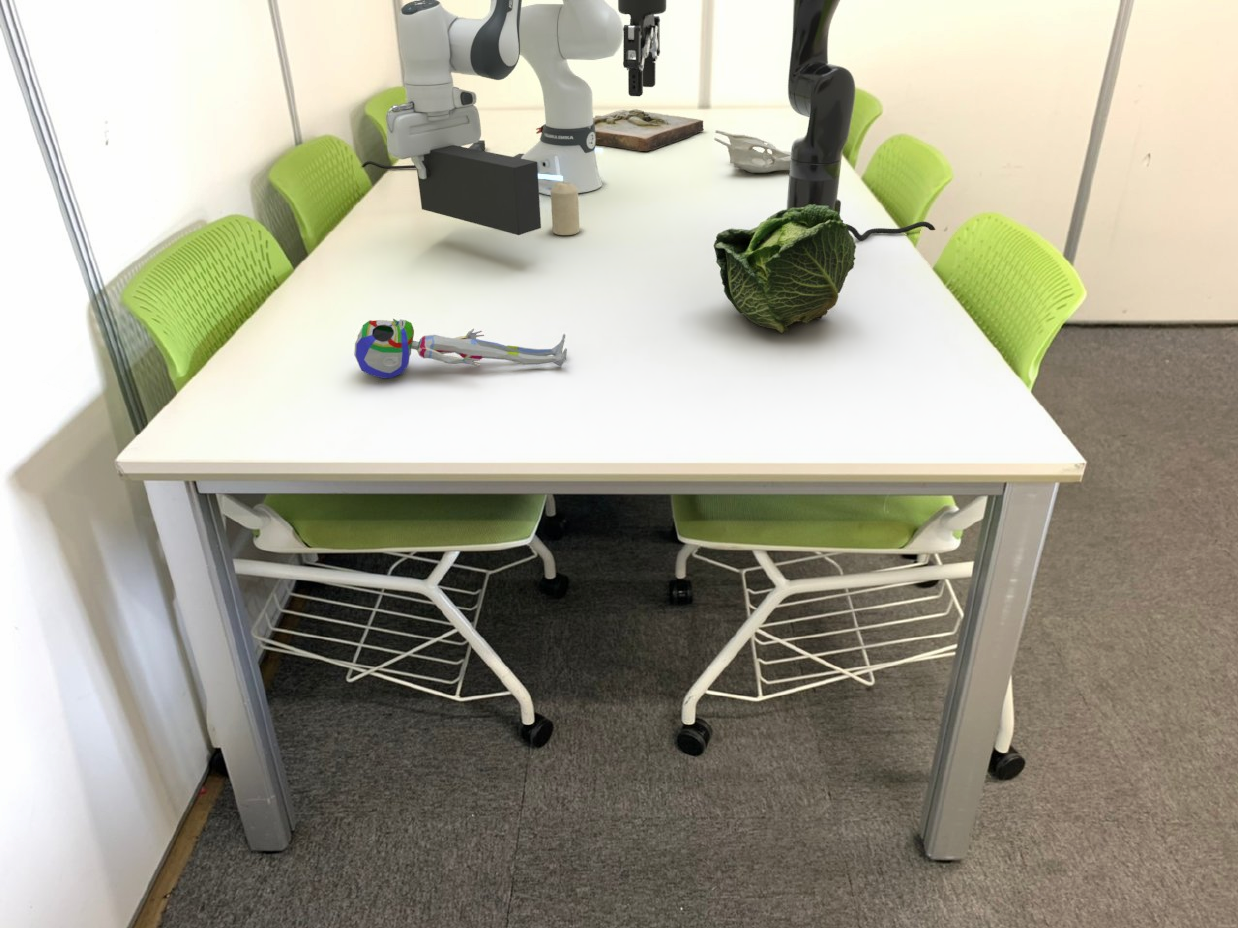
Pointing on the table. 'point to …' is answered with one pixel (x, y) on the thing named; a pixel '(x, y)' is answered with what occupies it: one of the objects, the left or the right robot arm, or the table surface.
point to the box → (482, 188)
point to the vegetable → (786, 265)
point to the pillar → (478, 145)
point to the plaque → (643, 129)
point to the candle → (565, 208)
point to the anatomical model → (754, 154)
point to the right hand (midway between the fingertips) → (642, 91)
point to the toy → (435, 349)
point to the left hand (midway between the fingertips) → (439, 174)
